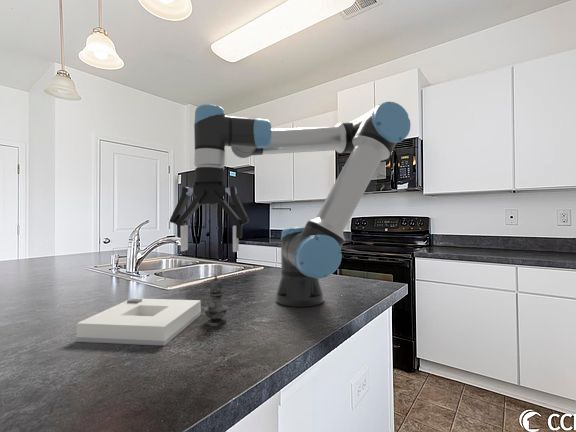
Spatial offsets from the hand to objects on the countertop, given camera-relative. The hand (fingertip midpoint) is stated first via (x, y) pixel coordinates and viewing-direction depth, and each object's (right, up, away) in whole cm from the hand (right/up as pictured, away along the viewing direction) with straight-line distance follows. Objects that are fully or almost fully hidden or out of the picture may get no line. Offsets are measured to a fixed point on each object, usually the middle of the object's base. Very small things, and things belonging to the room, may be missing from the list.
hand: (209, 251), depth 80 cm
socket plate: (-15, -18, -3) cm, 24 cm away
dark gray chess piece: (+2, -18, 0) cm, 18 cm away
